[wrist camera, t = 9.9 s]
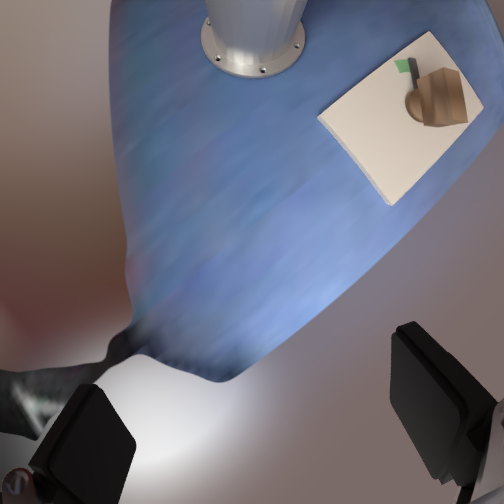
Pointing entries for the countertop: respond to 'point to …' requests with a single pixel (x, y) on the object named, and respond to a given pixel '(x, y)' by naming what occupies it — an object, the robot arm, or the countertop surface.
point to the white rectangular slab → (395, 121)
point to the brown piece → (436, 97)
